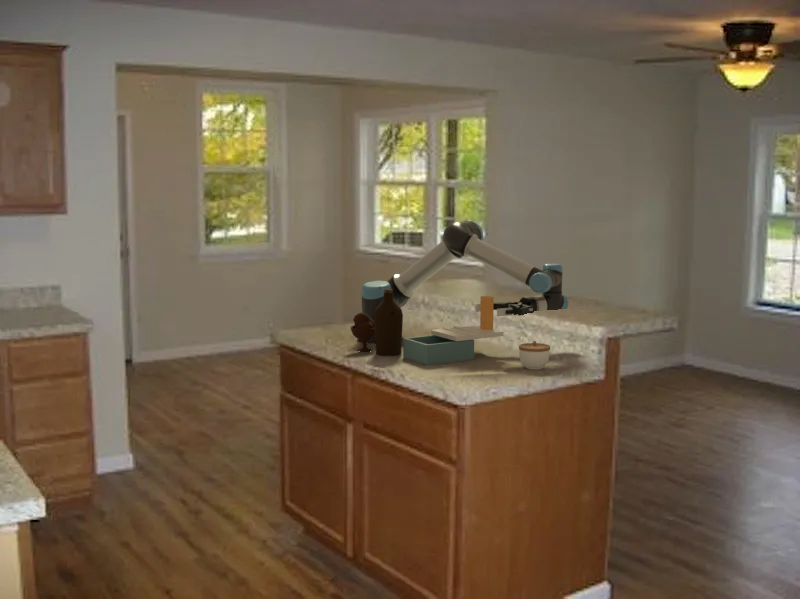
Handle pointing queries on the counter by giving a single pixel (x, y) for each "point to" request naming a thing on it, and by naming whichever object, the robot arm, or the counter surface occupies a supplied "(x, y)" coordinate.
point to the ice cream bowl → (363, 330)
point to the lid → (473, 331)
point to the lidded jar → (534, 355)
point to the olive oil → (388, 326)
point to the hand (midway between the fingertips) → (486, 310)
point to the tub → (437, 350)
